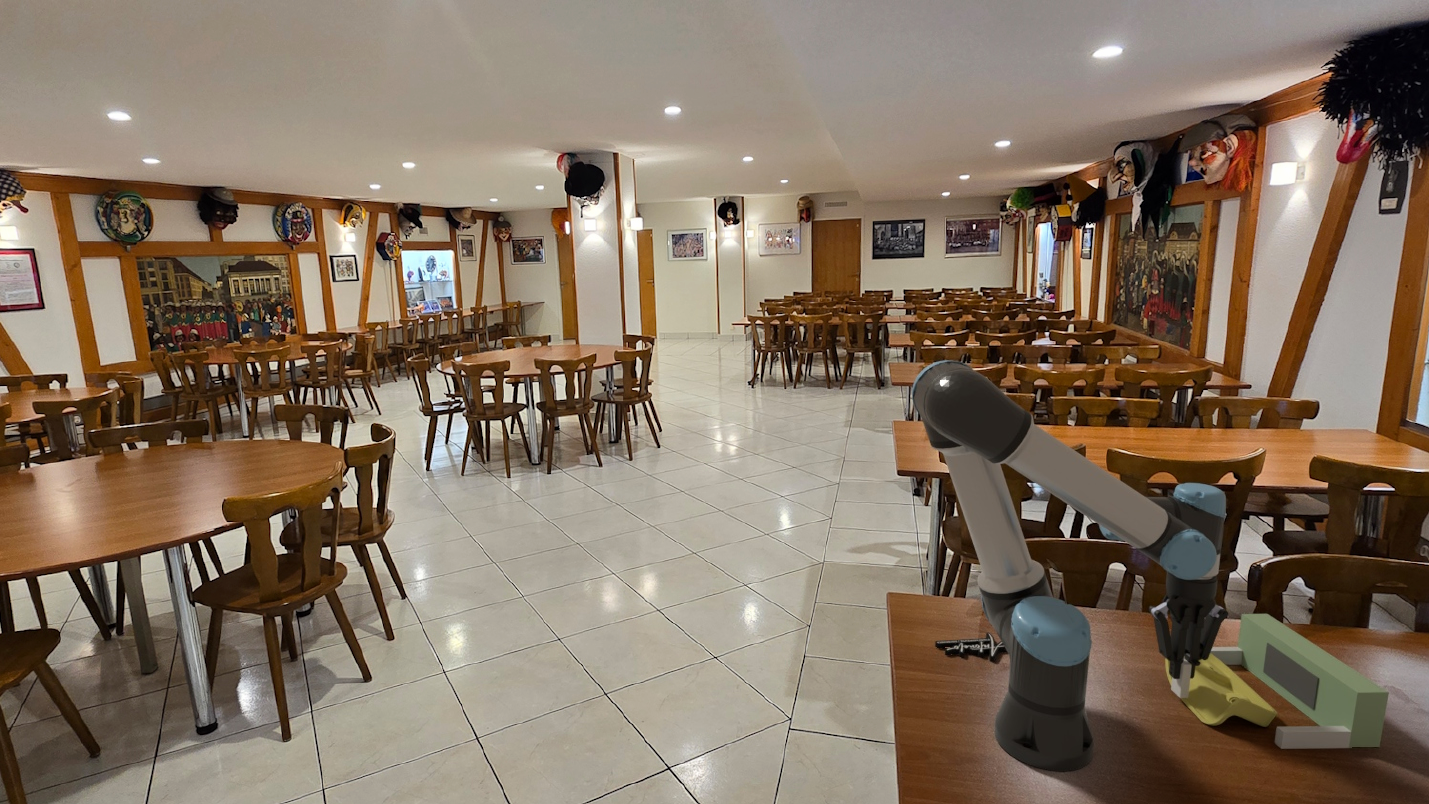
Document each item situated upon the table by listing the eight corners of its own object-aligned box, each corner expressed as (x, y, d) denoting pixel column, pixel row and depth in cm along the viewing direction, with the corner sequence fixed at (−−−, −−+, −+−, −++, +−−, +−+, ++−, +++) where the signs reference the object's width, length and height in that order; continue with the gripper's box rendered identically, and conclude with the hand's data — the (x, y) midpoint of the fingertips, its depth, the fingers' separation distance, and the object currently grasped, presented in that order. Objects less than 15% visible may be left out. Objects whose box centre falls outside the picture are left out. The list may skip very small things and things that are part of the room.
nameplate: (1054, 628, 160) (1081, 652, 150) (1054, 635, 160) (1080, 659, 150) (930, 635, 158) (948, 660, 148) (930, 642, 158) (948, 667, 148)
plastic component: (1284, 718, 126) (1235, 696, 125) (1258, 751, 128) (1209, 730, 127) (1209, 649, 145) (1166, 630, 144) (1187, 679, 147) (1145, 660, 146)
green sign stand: (1281, 748, 122) (1289, 693, 120) (1180, 661, 148) (1185, 614, 146) (1379, 747, 122) (1388, 692, 120) (1260, 660, 148) (1267, 613, 146)
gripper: (1167, 581, 127) (1155, 706, 131) (1244, 579, 126) (1229, 705, 131) (1143, 563, 134) (1132, 682, 138) (1215, 562, 134) (1202, 681, 138)
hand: (1179, 693), depth 135 cm, fingers closed
